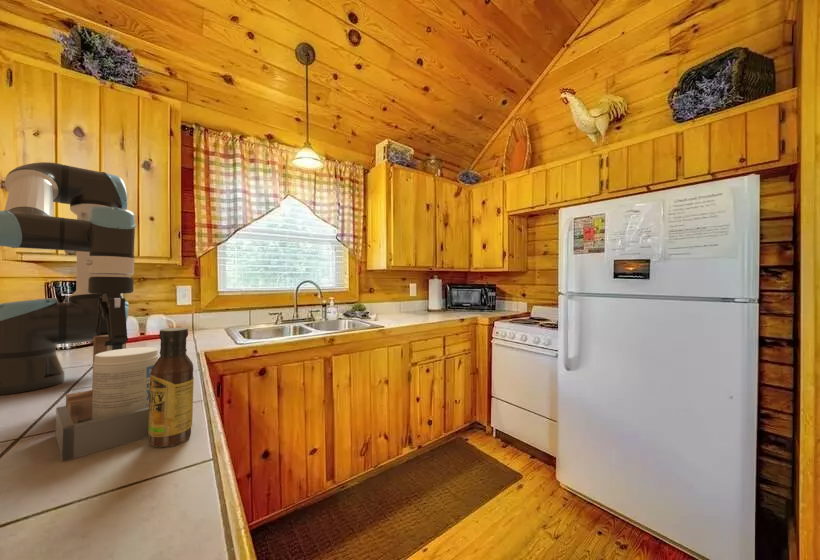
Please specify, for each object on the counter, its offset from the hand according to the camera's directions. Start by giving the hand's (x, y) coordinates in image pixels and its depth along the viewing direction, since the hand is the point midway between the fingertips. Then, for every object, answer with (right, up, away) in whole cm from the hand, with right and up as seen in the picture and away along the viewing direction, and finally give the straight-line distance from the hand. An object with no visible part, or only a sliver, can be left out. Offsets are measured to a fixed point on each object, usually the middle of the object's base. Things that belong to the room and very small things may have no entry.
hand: (109, 369), depth 72 cm
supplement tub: (+13, -8, -11) cm, 19 cm away
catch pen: (+14, -8, -11) cm, 20 cm away
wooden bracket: (+3, -8, -2) cm, 9 cm away
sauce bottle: (+26, -8, -16) cm, 31 cm away
